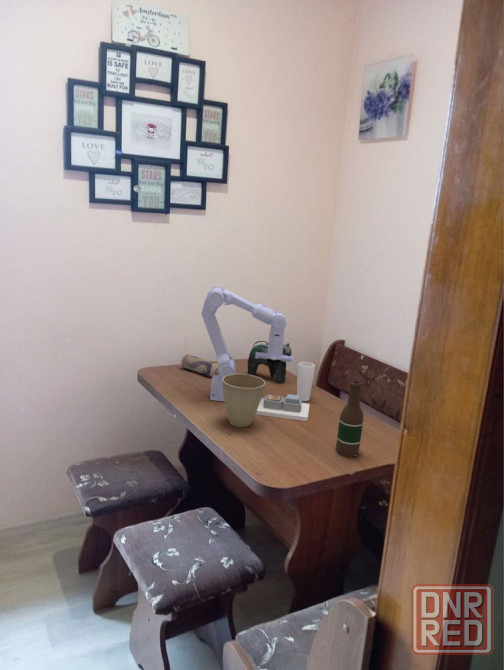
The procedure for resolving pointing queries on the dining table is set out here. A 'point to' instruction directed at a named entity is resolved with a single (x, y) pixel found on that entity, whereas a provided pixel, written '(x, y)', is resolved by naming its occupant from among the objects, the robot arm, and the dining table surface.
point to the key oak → (274, 398)
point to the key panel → (283, 409)
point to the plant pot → (242, 397)
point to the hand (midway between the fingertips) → (272, 377)
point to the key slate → (292, 399)
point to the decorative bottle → (200, 365)
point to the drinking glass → (305, 379)
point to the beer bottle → (350, 423)
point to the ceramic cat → (255, 362)
